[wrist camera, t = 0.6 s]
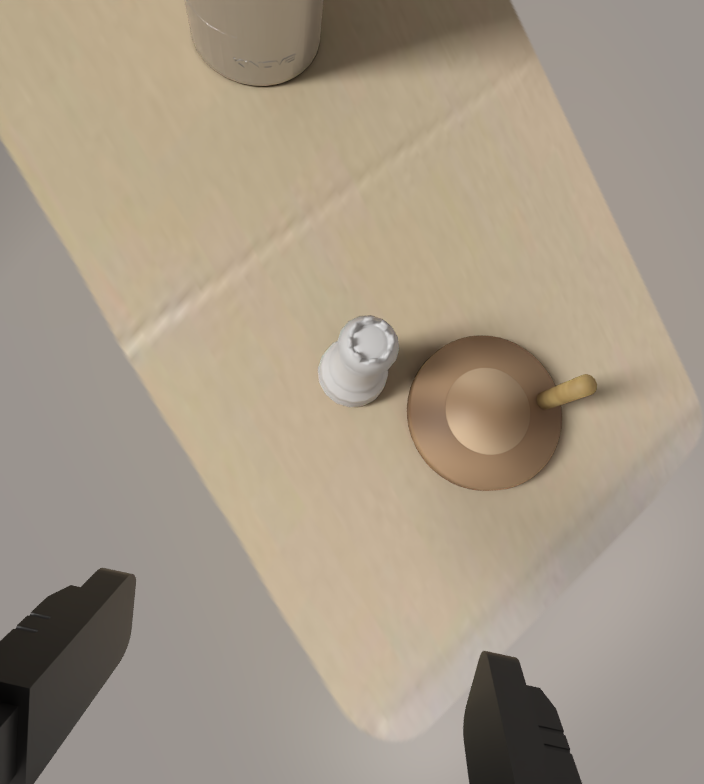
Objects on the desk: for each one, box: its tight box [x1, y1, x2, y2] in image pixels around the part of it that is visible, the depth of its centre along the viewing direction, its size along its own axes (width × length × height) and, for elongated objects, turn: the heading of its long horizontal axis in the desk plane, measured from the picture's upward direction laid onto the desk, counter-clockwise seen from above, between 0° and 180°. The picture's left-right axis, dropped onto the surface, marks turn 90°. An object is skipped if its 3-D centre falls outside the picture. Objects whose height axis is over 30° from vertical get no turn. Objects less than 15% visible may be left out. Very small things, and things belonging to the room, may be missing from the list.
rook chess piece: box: [318, 315, 399, 407], centre depth 32 cm, size 4×4×8 cm
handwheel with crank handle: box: [407, 336, 597, 491], centre depth 33 cm, size 10×10×6 cm
